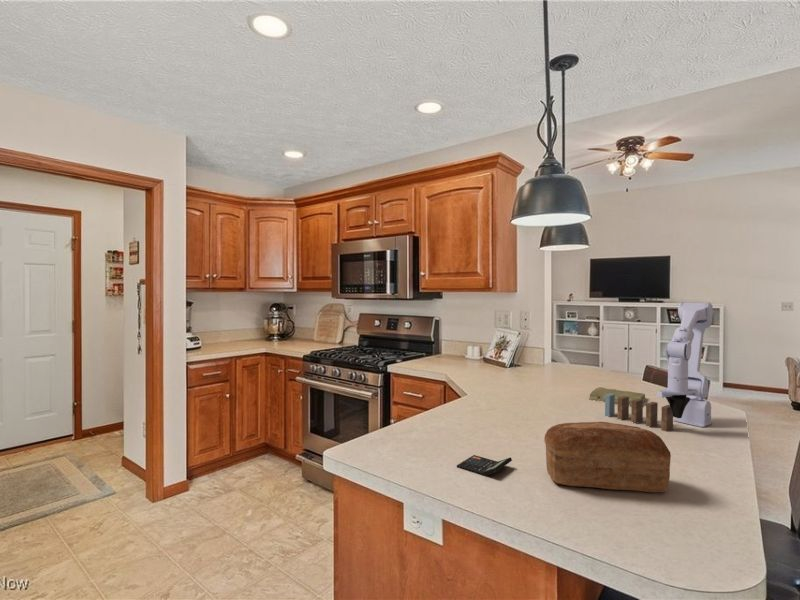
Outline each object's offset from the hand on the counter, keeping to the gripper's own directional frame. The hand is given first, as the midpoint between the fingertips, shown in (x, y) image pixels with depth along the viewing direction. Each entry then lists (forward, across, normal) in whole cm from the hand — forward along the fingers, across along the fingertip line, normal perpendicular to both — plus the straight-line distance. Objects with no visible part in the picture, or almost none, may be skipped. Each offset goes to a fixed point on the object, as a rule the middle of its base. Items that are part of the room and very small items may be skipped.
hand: (677, 417), depth 140 cm
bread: (+5, +50, +27) cm, 57 cm away
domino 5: (+5, +1, -3) cm, 6 cm away
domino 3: (+5, +5, -12) cm, 14 cm away
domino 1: (+5, +9, -21) cm, 24 cm away
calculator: (+5, +76, +13) cm, 77 cm away
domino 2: (+5, +7, -17) cm, 19 cm away
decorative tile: (+6, -11, -41) cm, 43 cm away
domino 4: (+5, +3, -8) cm, 9 cm away
